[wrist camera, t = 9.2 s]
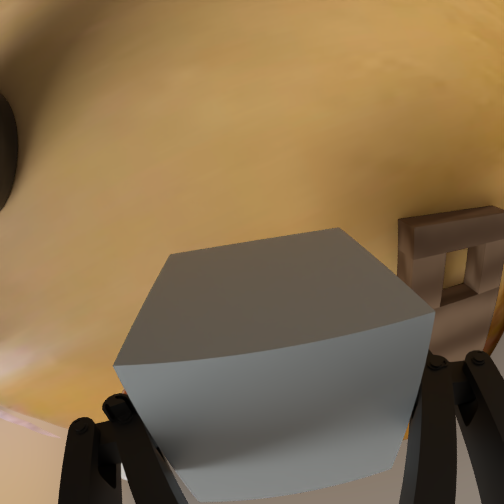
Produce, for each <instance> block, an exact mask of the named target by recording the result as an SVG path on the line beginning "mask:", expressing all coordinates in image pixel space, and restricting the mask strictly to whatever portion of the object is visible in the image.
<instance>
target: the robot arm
mask: <svg viewBox="0 0 504 504" xmlns="http://www.w3.org/2000/svg"><path fill="white" fill-rule="evenodd" d="M17 151H18V142H17V130H16V124H15V119H14V116H13V113H12V110H11V108H10V105H9V104H8V102H7V100H6V99H5V98H4V97H3V95H1V94H0V210H1V209H2V207H3V206H4V204H5V202H6V200H7V198H8V196H9V193H10V190H11V188H12V184H13V180H14V176H15V171H16V164H17ZM102 410H103V411H104V413H105V414H106V416H107V417H108V419H109V421H106V422H101V423H97V424H95V423H94V422H93V420H92V419H90V418H88V417H82V418H78V419H77V420H75V421H73V423H72V424H71V425H70V427H69V430H68V435H67V441H66V447H65V453H64V459H63V466H62V473H61V481H60V490H59V499H58V504H122V489H121V463H122V465H123V468H124V471H125V474H126V477H127V480H128V483H129V486H130V489H131V492H132V495H133V498H134V500H135V503H136V504H188V502H187V500H186V498H185V497H184V495H183V493H182V491H181V489H180V487H179V485H178V483H177V481H176V479H175V477H174V475H173V473H172V471H171V469H170V467H169V465H168V463H167V460H166V458H165V456H164V454H163V453H162V451H161V450H160V448H159V447H158V445H157V443H156V442H155V440H154V439H153V437H152V436H151V434H150V432H149V431H148V429H147V427H146V426H145V424H144V422H143V421H142V419H141V417H140V416H139V414H138V412H137V411H136V409H135V407H134V405H133V403H132V402H131V400H130V398H129V396H128V395H127V394H122V393H119V394H114V395H112V396H110V397H109V398H107V399H106V400H105V402H104V403H103V406H102ZM455 415H456V417H457V420H458V423H459V426H460V429H461V432H462V435H463V438H464V441H465V444H466V447H467V450H468V454H469V457H470V460H471V464H472V467H473V470H474V474H475V478H476V482H477V485H478V489H479V494H480V498H481V503H482V504H504V379H503V377H502V376H501V374H500V372H499V371H498V369H497V367H496V365H495V364H494V362H493V361H492V359H491V357H490V356H489V355H488V354H487V353H485V352H484V351H480V350H473V351H470V352H469V353H468V354H467V355H466V357H465V360H464V361H455V362H449V361H448V360H447V359H446V358H445V357H443V356H440V355H433V354H432V352H431V351H430V350H429V349H428V354H427V358H426V363H425V367H424V371H423V375H422V379H421V383H420V386H419V390H418V394H417V397H416V400H415V404H414V407H413V410H412V414H411V417H410V423H409V435H408V446H407V455H406V463H405V470H404V477H403V484H402V490H401V495H400V501H399V504H455V496H456V475H457V438H456V417H455Z"/></svg>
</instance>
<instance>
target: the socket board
mask: <svg viewBox="0 0 504 504" xmlns="http://www.w3.org/2000/svg"><path fill="white" fill-rule="evenodd" d="M465 248H468V253H467V262H466V270H465V277H464V283H463V284H460V285H456V286H453V287H450V288H446V289H443V290H442V288H443V280H444V271H445V261H446V253H447V252H452V251H456V250H460V249H465ZM503 264H504V210H503V209H500V208H498V207H495V206H486V207H479V208H472V209H465V210H458V211H451V212H444V213H437V214H430V215H423V216H416V217H410V218H403V219H398V266H397V277H398V278H400V279H401V280H402V281H403V282H404V283H405V284H406V285H407V286H409V287H410V288H411V289H412V290H413V291H414V292H415V293H416V294H417V295H418V296H420V297H421V298H422V299H423V300H424V301H425V302H426V303H427V304H428V305H429V306H430V307H431V308H432V309H434V310H435V318H434V323H433V329H432V334H431V339H430V344H429V350H430V351H431V352H432V354H433V355H440V356H443V357H445V358H446V359H447V360H448V361H449V362H455V361H464V360H465V357H466V355H467V354H468V353H469V352H470V351H473V350H480V351H483V348H484V345H485V342H486V338H487V335H488V331H489V328H490V324H491V321H492V317H493V313H494V309H495V305H496V300H497V296H498V291H499V286H500V281H501V276H502V270H503Z"/></svg>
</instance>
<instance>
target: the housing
mask: <svg viewBox="0 0 504 504" xmlns="http://www.w3.org/2000/svg"><path fill="white" fill-rule="evenodd" d="M434 318H435V310H434V309H432V308H431V307H430V306H429V305H428V304H427V303H426V302H425V301H424V300H423V299H422V298H421V297H420V296H418V295H417V294H416V293H415V292H414V291H413V290H412V289H411V288H410V287H409V286H407V285H406V284H405V283H404V282H403V281H402V280H401V279H400V278H398V277H397V276H396V275H395V274H394V273H393V272H392V271H391V270H389V269H388V268H387V267H386V266H385V265H384V264H382V263H381V262H380V261H379V260H378V259H377V258H375V257H374V256H373V255H372V254H371V253H370V252H368V251H367V250H366V249H365V248H364V247H362V246H361V245H360V244H359V243H358V242H356V241H355V240H354V239H353V238H352V237H350V236H349V235H348V234H347V233H345V232H344V231H343V230H342V229H341V228H332V229H326V230H319V231H313V232H306V233H300V234H293V235H287V236H281V237H274V238H268V239H262V240H255V241H249V242H243V243H237V244H231V245H224V246H218V247H212V248H206V249H200V250H194V251H188V252H182V253H176V254H170V255H169V257H168V259H167V261H166V263H165V264H164V266H163V268H162V270H161V272H160V274H159V275H158V277H157V279H156V281H155V283H154V285H153V287H152V289H151V290H150V292H149V294H148V296H147V298H146V300H145V302H144V304H143V306H142V308H141V310H140V312H139V313H138V315H137V317H136V319H135V321H134V323H133V325H132V327H131V329H130V331H129V333H128V335H127V337H126V339H125V342H124V344H123V346H122V348H121V350H120V352H119V354H118V356H117V358H116V360H115V362H114V365H113V367H114V369H115V371H116V373H117V375H118V377H119V379H120V381H121V383H122V385H123V387H124V389H125V391H126V392H127V394H128V396H129V398H130V400H131V402H132V403H133V405H134V407H135V409H136V411H137V412H138V414H139V416H140V417H141V419H142V421H143V422H144V424H145V426H146V427H147V429H148V431H149V432H150V434H151V436H152V437H153V439H154V440H155V442H156V443H157V445H158V447H159V448H160V450H161V451H162V453H163V454H164V456H165V457H166V458H167V460H168V461H169V463H170V464H171V466H172V467H173V468H174V470H175V471H176V473H177V474H178V476H179V477H180V478H181V480H182V481H183V482H184V484H185V485H186V486H187V488H188V489H189V490H190V491H191V493H192V494H193V495H194V497H195V498H196V499H197V500H198V501H199V502H223V501H240V500H252V499H261V498H270V497H277V496H284V495H291V494H296V493H302V492H307V491H312V490H317V489H322V488H326V487H331V486H334V485H338V484H343V483H346V482H350V481H354V480H357V479H360V478H364V477H367V476H371V475H374V474H377V473H380V472H383V471H386V470H389V469H391V468H392V466H393V463H394V461H395V458H396V456H397V453H398V450H399V448H400V445H401V443H402V440H403V437H404V434H405V432H406V429H407V426H408V423H409V420H410V417H411V414H412V410H413V407H414V404H415V400H416V397H417V394H418V390H419V386H420V383H421V379H422V375H423V371H424V367H425V363H426V358H427V354H428V349H429V344H430V339H431V334H432V329H433V323H434Z"/></svg>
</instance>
